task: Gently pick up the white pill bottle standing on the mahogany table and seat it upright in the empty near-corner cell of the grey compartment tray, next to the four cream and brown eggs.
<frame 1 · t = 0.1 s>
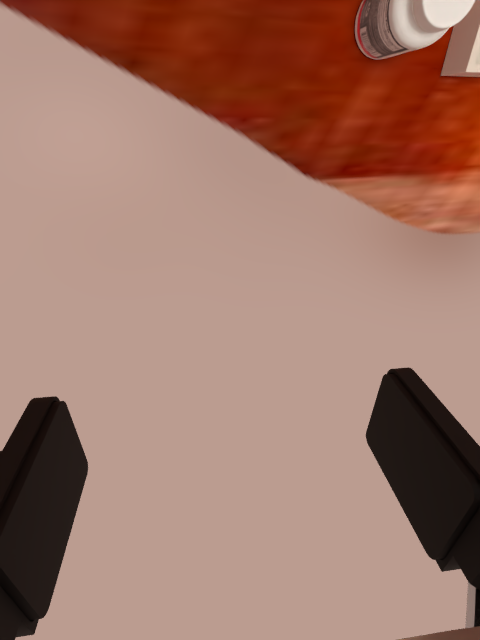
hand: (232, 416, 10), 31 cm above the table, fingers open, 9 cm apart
pill bottle: (380, 23, 31), on the table
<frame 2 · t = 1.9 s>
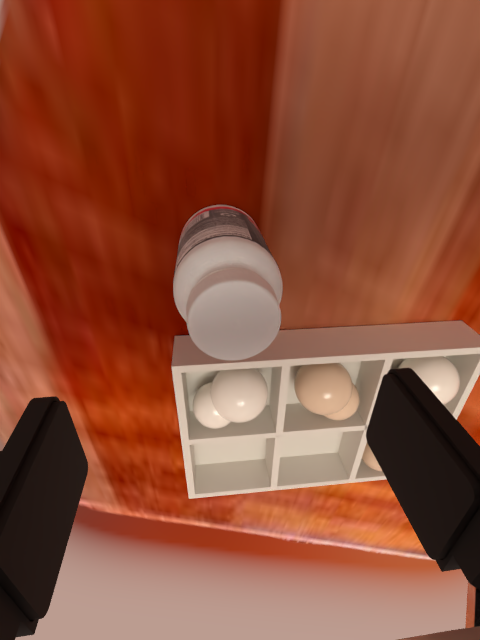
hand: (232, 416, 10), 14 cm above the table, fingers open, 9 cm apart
pill bottle: (220, 243, 22), on the table
grey compartment tray: (311, 399, 31), on the table
egg brown a: (319, 372, 28), point 1 cm above the table, touching grey compartment tray
egg brown b: (384, 425, 33), point 1 cm above the table, touching grey compartment tray
egg cream b: (229, 378, 28), point 1 cm above the table, touching grey compartment tray
egg cream a: (404, 366, 29), point 1 cm above the table, touching grey compartment tray
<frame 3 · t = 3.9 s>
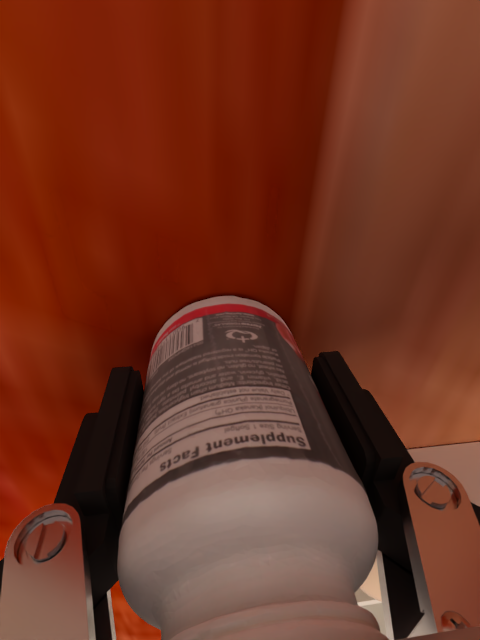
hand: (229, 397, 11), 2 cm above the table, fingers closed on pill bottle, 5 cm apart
pill bottle: (223, 350, 13), on the table, touching gripper
grey compartment tray: (353, 531, 21), on the table
egg brown a: (369, 507, 19), point 1 cm above the table, touching grey compartment tray
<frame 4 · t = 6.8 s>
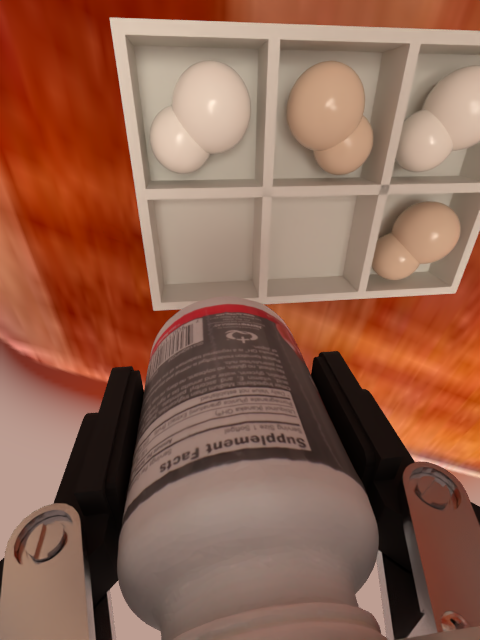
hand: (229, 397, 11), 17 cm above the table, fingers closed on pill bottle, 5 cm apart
pill bottle: (223, 350, 13), point 15 cm above the table, touching gripper
grey compartment tray: (309, 181, 24), on the table
egg brown a: (319, 119, 22), point 1 cm above the table, touching grey compartment tray
egg brown b: (399, 232, 26), point 1 cm above the table, touching grey compartment tray
egg cream b: (200, 119, 21), point 1 cm above the table, touching grey compartment tray
egg cream a: (428, 120, 23), point 1 cm above the table, touching grey compartment tray
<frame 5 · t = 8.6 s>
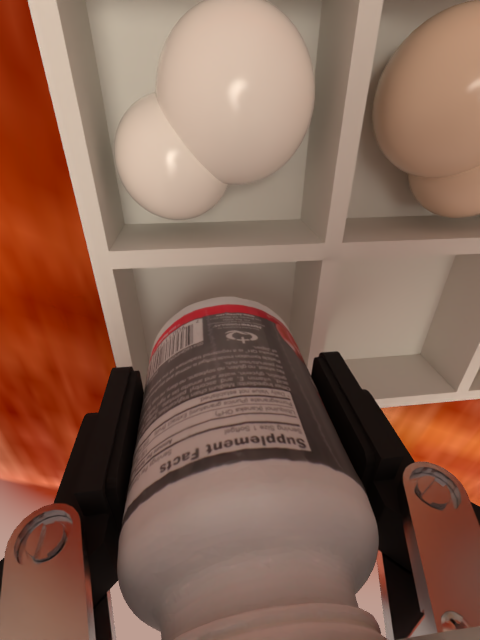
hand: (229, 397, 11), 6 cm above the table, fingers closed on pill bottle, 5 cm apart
pill bottle: (223, 351, 13), point 4 cm above the table, touching gripper
grey compartment tray: (386, 219, 15), on the table
egg brown a: (417, 120, 12), point 1 cm above the table, touching grey compartment tray
egg cream b: (211, 119, 12), point 1 cm above the table, touching grey compartment tray
when the fingers open (4 cm above the table, at t = 9.8 s): pill bottle drops 2 cm, resting on grey compartment tray.
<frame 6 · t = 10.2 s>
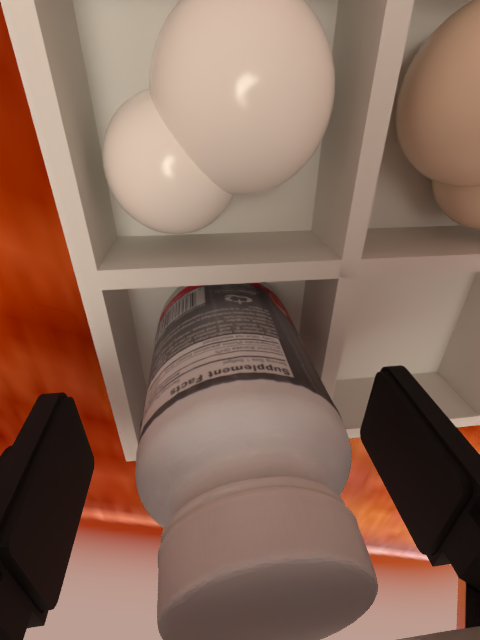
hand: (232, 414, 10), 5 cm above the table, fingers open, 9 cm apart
pill bottle: (223, 323, 14), resting on grey compartment tray
grey compartment tray: (403, 230, 14), on the table
egg brown a: (443, 121, 11), point 1 cm above the table, touching grey compartment tray
egg cream b: (213, 120, 10), point 1 cm above the table, touching grey compartment tray
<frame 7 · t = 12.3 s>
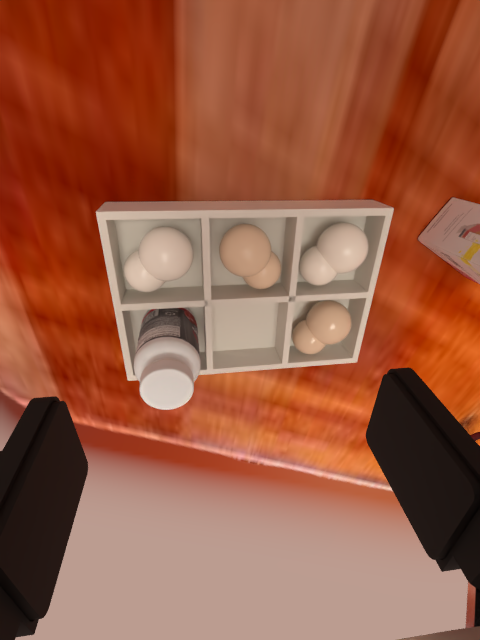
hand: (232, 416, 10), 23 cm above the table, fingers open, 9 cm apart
pill bottle: (170, 323, 33), resting on grey compartment tray
grey compartment tray: (244, 284, 33), on the table
egg brown a: (246, 248, 31), point 1 cm above the table, touching grey compartment tray
ink box: (457, 238, 34), on the table
egg brown b: (315, 316, 35), point 1 cm above the table, touching grey compartment tray
egg cream b: (161, 251, 30), point 1 cm above the table, touching grey compartment tray
egg cream a: (325, 246, 32), point 1 cm above the table, touching grey compartment tray
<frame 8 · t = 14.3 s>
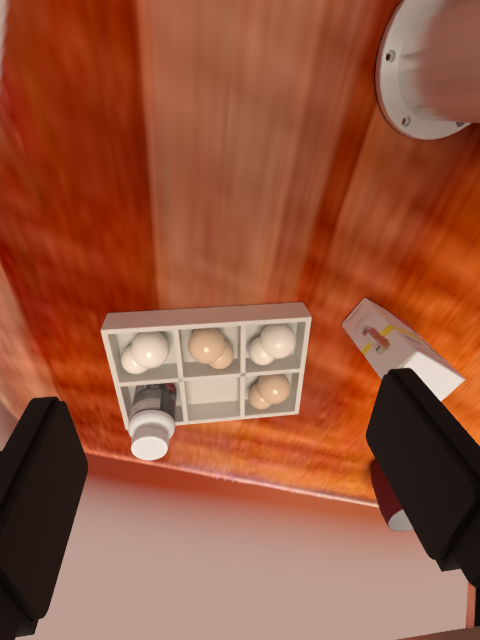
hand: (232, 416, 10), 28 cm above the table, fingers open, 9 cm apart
pill bottle: (156, 386, 45), resting on grey compartment tray
grey compartment tray: (210, 359, 45), on the table
egg brown a: (209, 338, 42), point 1 cm above the table, touching grey compartment tray
ink box: (373, 322, 45), on the table
egg brown b: (266, 379, 47), point 1 cm above the table, touching grey compartment tray
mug: (385, 457, 62), on the table
egg cream b: (147, 342, 41), point 1 cm above the table, touching grey compartment tray
egg cream a: (269, 334, 43), point 1 cm above the table, touching grey compartment tray
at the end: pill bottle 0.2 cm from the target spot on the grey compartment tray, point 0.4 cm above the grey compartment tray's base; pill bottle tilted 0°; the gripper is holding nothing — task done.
